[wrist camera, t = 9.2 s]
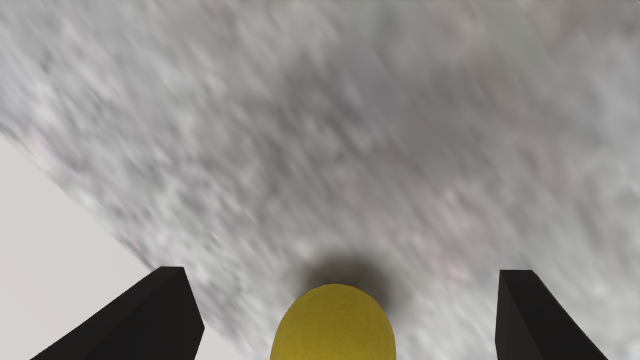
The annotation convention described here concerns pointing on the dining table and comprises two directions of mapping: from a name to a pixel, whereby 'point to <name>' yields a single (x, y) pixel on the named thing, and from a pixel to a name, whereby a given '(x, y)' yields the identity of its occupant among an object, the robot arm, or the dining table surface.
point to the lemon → (334, 327)
